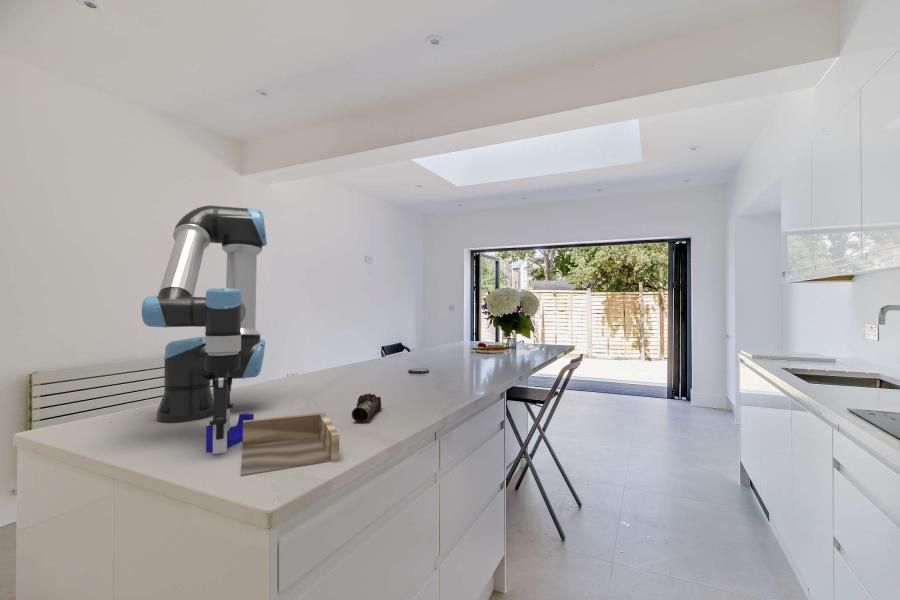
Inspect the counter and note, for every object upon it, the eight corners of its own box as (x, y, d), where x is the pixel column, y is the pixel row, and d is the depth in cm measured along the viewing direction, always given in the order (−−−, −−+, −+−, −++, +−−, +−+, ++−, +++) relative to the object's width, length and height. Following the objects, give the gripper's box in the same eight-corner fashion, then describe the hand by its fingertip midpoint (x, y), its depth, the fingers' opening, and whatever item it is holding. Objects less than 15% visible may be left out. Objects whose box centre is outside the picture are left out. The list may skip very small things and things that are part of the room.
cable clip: (237, 436, 107) (237, 412, 107) (253, 437, 106) (253, 413, 106) (200, 452, 95) (200, 426, 95) (217, 454, 94) (217, 427, 94)
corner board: (242, 446, 99) (243, 420, 99) (324, 436, 107) (324, 412, 107) (240, 477, 81) (241, 446, 81) (339, 463, 89) (339, 434, 89)
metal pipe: (368, 423, 116) (369, 403, 116) (344, 422, 116) (345, 401, 117) (383, 410, 133) (384, 392, 134) (362, 409, 134) (363, 391, 134)
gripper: (209, 349, 110) (208, 431, 109) (198, 360, 87) (197, 464, 87) (241, 348, 113) (240, 428, 113) (239, 358, 91) (237, 458, 90)
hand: (221, 444), depth 100 cm, fingers open, 13 cm apart
